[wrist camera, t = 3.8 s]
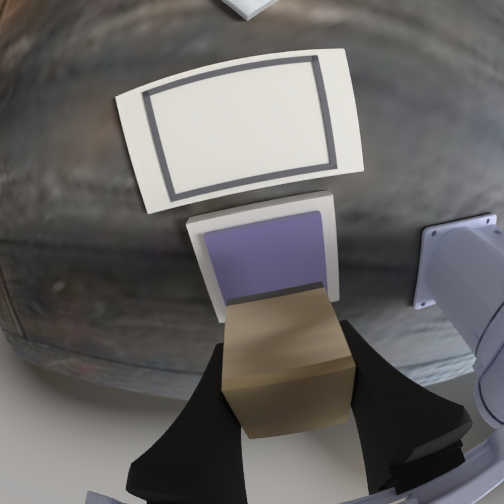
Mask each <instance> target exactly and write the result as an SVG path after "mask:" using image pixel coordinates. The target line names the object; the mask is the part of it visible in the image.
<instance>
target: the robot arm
mask: <svg viewBox="0 0 504 504" xmlns="http://www.w3.org/2000/svg"><path fill="white" fill-rule="evenodd" d="M496 219H497V217H496V215H495V214H494V213H491V214H486V215H482V216H477V217H473V218H468V219H464V220H459V221H455V222H450V223H445V224H441V225H436V226H431V227H427V228H425V229H424V231H423V233H422V243H421V253H420V262H419V270H418V277H417V284H416V291H415V297H414V302H413V307H414V308H415V309H416V310H417V309H421V308H424V307H427V306H430V305H433V304H435V303H436V304H437V305H438V306H439V307H440V309H441V310H442V311H443V313H444V314H445V315H446V316H447V318H448V319H449V320H450V322H451V323H452V324H453V326H454V327H455V328H456V330H457V331H458V332H459V334H460V335H461V336H462V338H463V339H464V340H465V342H466V343H467V345H468V346H469V348H470V349H471V350H472V352H473V353H474V355H475V356H476V361H475V363H474V364H473V366H472V367H473V369H474V370H475V372H476V373H477V375H478V377H477V379H476V382H475V385H474V397H475V402H476V405H477V407H478V410H479V412H480V414H481V416H482V417H483V418H484V420H485V421H486V422H487V423H488V424H489V425H490V426H492V427H493V428H495V429H497V430H496V431H495V432H493V433H492V434H491V435H490V436H489V437H488V439H486V440H485V441H484V442H482V443H480V444H479V445H477V446H476V447H474V448H473V449H471V450H469V451H468V452H466V453H464V454H463V453H462V450H461V447H462V446H463V444H462V442H461V438H462V437H463V436H464V435H465V434H466V433H467V432H468V431H469V430H470V428H471V427H472V424H473V422H472V420H471V418H470V415H469V414H468V412H467V411H466V409H465V408H464V406H462V405H459V404H457V403H454V402H452V401H449V400H447V399H444V398H442V397H440V396H438V395H436V394H434V393H432V392H430V391H429V390H427V389H425V388H423V387H422V386H420V385H418V384H417V383H415V382H414V381H412V380H411V379H409V378H408V377H406V376H405V375H403V374H402V373H401V372H399V371H398V370H397V369H395V368H394V367H393V366H392V365H391V364H389V363H388V362H387V361H386V360H385V359H384V358H383V357H381V356H380V355H379V354H378V353H377V352H376V351H375V350H374V349H373V348H372V347H371V346H370V345H369V344H368V343H367V342H366V341H365V340H364V339H363V338H362V337H361V335H360V334H359V333H358V332H357V331H356V330H355V329H354V328H353V326H352V325H351V324H350V323H349V321H347V320H342V321H339V324H340V326H341V329H342V331H343V334H344V337H345V339H346V342H347V344H348V347H349V349H350V352H351V355H352V357H353V360H354V363H355V365H356V369H355V377H354V385H353V392H352V398H351V408H352V411H353V414H354V417H355V420H356V424H357V429H358V433H359V437H360V442H361V447H362V452H363V458H364V463H365V469H366V476H367V483H368V491H369V496H366V497H363V498H359V499H355V500H352V501H348V502H344V503H340V504H389V503H391V502H394V501H397V500H399V499H402V498H404V497H407V496H408V497H407V498H406V500H405V501H403V502H401V503H398V504H473V503H475V502H476V501H477V500H479V499H480V498H482V497H483V496H484V495H486V494H487V493H488V492H490V491H491V490H492V489H493V488H495V487H496V486H497V485H498V484H500V483H501V482H502V481H503V480H504V230H503V229H501V228H500V227H498V226H497V225H496ZM433 231H434V233H433V234H432V232H433ZM223 351H224V343H219V344H217V345H216V346H215V349H214V351H213V354H212V356H211V359H210V361H209V363H208V365H207V368H206V370H205V372H204V374H203V376H202V378H201V380H200V382H199V384H198V386H197V388H196V389H195V391H194V393H193V395H192V396H191V398H190V400H189V401H188V403H187V405H186V406H185V407H184V409H183V410H182V412H181V413H180V415H179V416H178V417H177V419H176V420H175V421H174V423H173V424H172V425H171V426H170V427H169V429H168V430H167V431H166V432H165V433H164V434H163V435H162V436H161V437H160V439H159V440H158V441H157V442H156V443H155V444H154V445H153V446H152V447H151V448H149V449H148V450H147V451H146V452H145V453H144V454H142V455H141V456H140V457H139V458H138V459H137V460H135V461H134V462H133V463H131V466H130V469H129V473H128V478H127V484H126V490H127V491H128V492H129V493H130V494H132V495H134V496H136V497H139V498H141V499H143V500H146V501H147V504H248V503H247V497H246V489H245V481H244V472H243V462H242V449H241V424H240V423H239V421H238V419H237V417H236V416H235V414H234V412H233V410H232V409H231V407H230V405H229V403H228V402H227V400H226V398H225V396H224V394H223V392H222V391H221V390H222V370H223ZM85 504H126V503H122V502H119V501H117V500H115V499H113V498H110V497H107V496H104V495H101V494H98V493H94V492H91V491H88V492H87V497H86V502H85Z"/></svg>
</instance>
